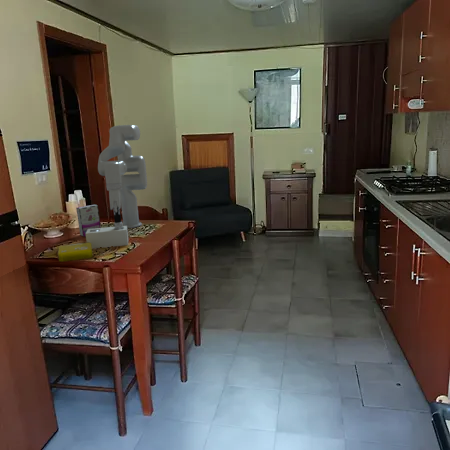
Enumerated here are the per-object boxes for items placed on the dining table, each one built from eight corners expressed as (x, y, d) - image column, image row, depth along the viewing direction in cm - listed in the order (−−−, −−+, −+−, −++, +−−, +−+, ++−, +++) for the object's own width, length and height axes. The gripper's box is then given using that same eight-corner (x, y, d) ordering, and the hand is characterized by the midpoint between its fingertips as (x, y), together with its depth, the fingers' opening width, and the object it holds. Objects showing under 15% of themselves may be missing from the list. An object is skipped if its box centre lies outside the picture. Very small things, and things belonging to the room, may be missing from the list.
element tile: (92, 250, 207) (90, 240, 206) (93, 258, 193) (91, 248, 192) (60, 254, 202) (58, 245, 201) (59, 263, 188) (57, 253, 187)
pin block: (89, 243, 217) (87, 229, 216) (128, 240, 221) (126, 225, 219) (87, 248, 208) (85, 233, 206) (128, 244, 211) (126, 229, 210)
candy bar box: (97, 231, 244) (94, 204, 241) (101, 232, 241) (98, 205, 237) (79, 235, 237) (75, 207, 234) (83, 236, 234) (79, 208, 230)
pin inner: (115, 232, 216) (114, 221, 214) (123, 232, 217) (122, 220, 215) (115, 234, 212) (113, 223, 211) (123, 233, 213) (121, 222, 211)
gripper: (107, 185, 215) (111, 220, 219) (105, 189, 201) (109, 225, 205) (122, 184, 217) (125, 218, 221) (121, 187, 202) (124, 224, 206)
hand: (118, 222), depth 213 cm, fingers closed
